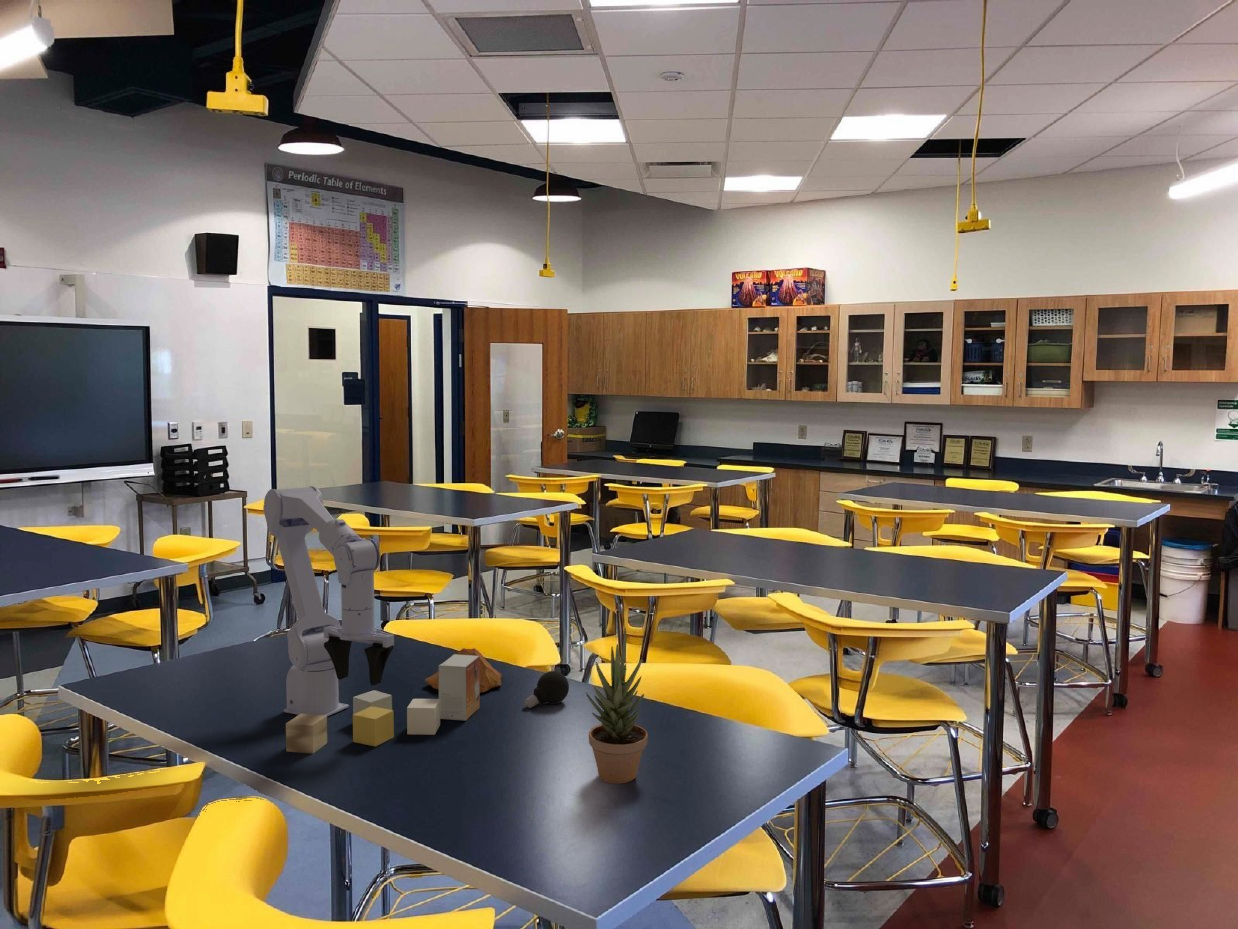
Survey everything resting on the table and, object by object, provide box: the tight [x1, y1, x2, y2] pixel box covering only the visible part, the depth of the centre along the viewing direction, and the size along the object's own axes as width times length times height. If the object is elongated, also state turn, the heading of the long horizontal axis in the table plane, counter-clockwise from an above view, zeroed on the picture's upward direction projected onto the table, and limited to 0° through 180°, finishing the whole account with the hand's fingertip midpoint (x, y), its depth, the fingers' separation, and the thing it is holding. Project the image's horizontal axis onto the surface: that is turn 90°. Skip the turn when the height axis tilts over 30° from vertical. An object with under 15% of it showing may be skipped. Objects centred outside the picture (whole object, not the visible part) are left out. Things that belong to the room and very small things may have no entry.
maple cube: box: [285, 714, 328, 754], centre depth 166 cm, size 5×5×5 cm
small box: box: [438, 653, 481, 721], centre depth 183 cm, size 8×6×10 cm
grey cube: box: [352, 689, 393, 715], centre depth 178 cm, size 5×5×5 cm
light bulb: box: [524, 670, 570, 709], centre depth 189 cm, size 6×6×10 cm
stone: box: [424, 647, 503, 694], centre depth 200 cm, size 15×15×10 cm
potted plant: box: [585, 627, 649, 784], centre depth 154 cm, size 10×10×25 cm
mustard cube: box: [352, 706, 395, 747], centre depth 170 cm, size 5×5×5 cm
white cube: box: [406, 698, 441, 736], centre depth 175 cm, size 5×5×5 cm
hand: (359, 680), depth 173 cm, fingers open, 7 cm apart
